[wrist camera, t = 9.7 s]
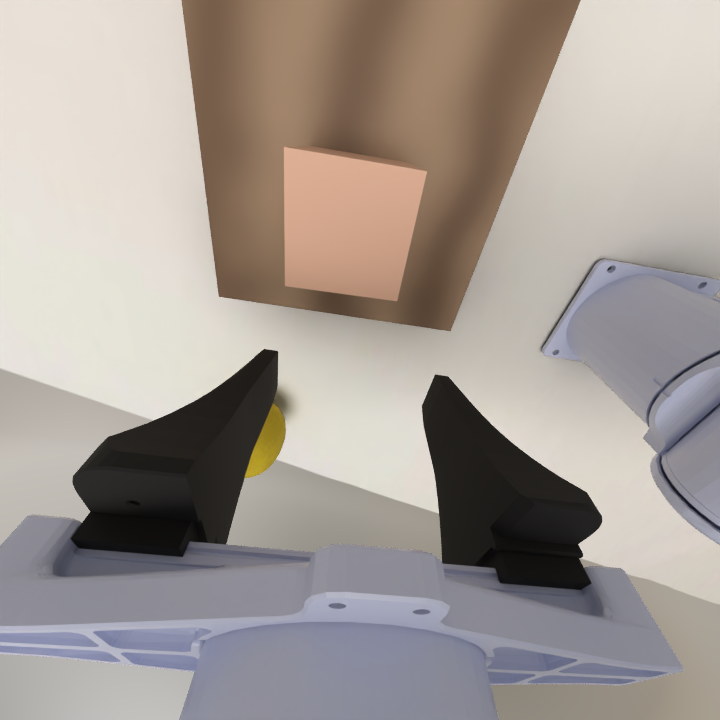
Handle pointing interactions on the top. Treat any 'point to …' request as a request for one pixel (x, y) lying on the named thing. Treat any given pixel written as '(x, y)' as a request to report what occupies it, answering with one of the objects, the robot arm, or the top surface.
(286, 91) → the walnut block
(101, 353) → the top surface
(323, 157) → the cube
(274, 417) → the lemon
